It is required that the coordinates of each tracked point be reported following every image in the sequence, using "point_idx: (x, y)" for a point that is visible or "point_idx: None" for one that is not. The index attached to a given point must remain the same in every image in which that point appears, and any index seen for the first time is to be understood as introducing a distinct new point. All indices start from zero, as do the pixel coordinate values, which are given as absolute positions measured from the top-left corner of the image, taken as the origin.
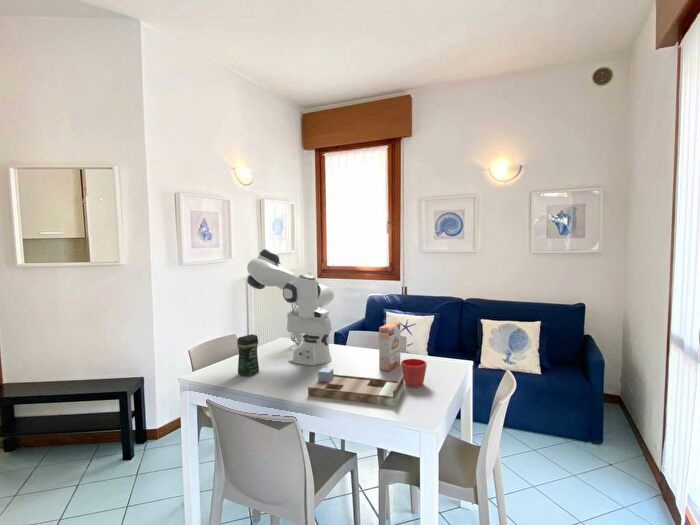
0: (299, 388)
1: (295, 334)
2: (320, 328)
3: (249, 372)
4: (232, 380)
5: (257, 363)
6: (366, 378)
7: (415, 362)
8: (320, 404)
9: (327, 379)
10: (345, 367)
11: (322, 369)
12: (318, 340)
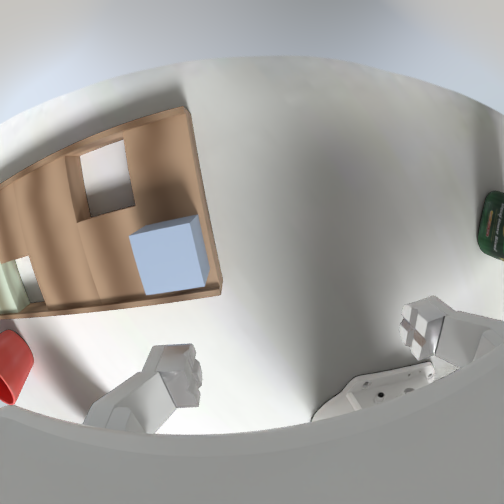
0: (274, 163)
1: (500, 328)
2: (25, 490)
3: (491, 203)
4: (495, 156)
5: (499, 245)
6: (57, 310)
7: (10, 396)
8: (111, 85)
9: (150, 226)
10: (235, 409)
11: (188, 261)
12: (155, 371)
